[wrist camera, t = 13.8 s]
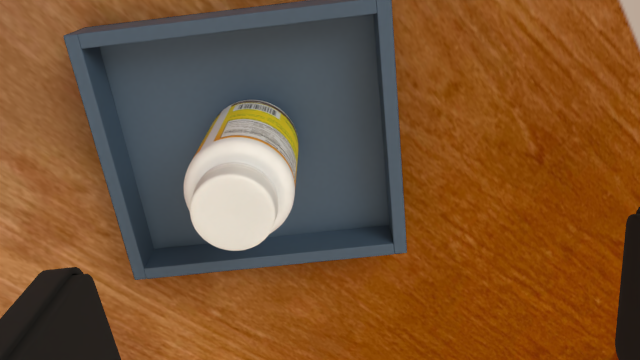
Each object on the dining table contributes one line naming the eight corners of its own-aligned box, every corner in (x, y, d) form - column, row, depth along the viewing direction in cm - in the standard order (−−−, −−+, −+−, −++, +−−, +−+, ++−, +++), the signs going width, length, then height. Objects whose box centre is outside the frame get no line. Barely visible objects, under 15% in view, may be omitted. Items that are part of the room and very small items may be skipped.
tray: (385, -10, 32) (391, -4, 29) (400, 230, 38) (407, 253, 35) (84, 27, 33) (62, 35, 30) (147, 256, 39) (134, 280, 36)
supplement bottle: (239, 194, 36) (211, 284, 27) (193, 121, 34) (146, 190, 25) (315, 158, 35) (313, 238, 26) (272, 80, 33) (254, 136, 24)
